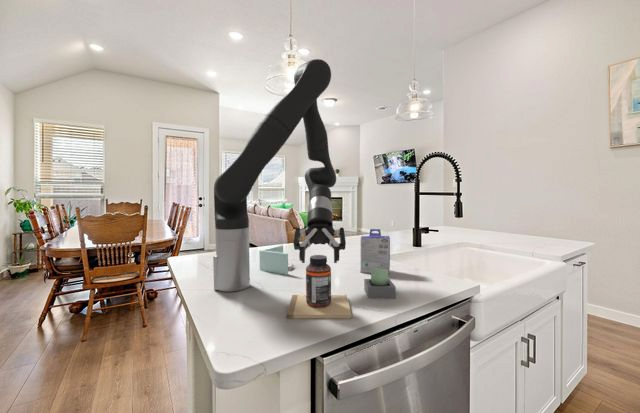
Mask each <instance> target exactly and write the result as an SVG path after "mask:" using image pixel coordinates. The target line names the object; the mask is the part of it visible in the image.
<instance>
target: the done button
mask: <svg viewBox="0 0 640 413" xmlns="http://www.w3.org/2000/svg"><path fill="white" fill-rule="evenodd" d="M388 275H389V274H388V270H387V269H385V268H372V269H371V273H370V279H371V283H372V284H374V285H387V284H388V279H389V276H388Z"/></svg>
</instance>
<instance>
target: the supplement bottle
mask: <svg viewBox="0 0 640 413" xmlns="http://www.w3.org/2000/svg"><path fill="white" fill-rule="evenodd" d="M327 259H328V258H327V255H323V254H314V255H313V254H312V255H311V256H309V264H308V265H307V266H306V268H305V288H306V289H305V295H306V302H307V304H308V305H310V306H312V307H325V306H327V305H329V304H330V303H331V295H332V269H331V265H329V264H328V263H327V262H328V260H327Z"/></svg>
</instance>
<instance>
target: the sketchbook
mask: <svg viewBox="0 0 640 413" xmlns="http://www.w3.org/2000/svg"><path fill="white" fill-rule="evenodd" d="M289 301H290V302H289V305H288V310H287V313H286V319H352V311H351V307H350V304H349V300H348V294H331V303H330V304H329V305H327V306H325V307H312V306H310V305H308V304H307V302H306V294H292V295H291V299H290V300H289Z"/></svg>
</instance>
